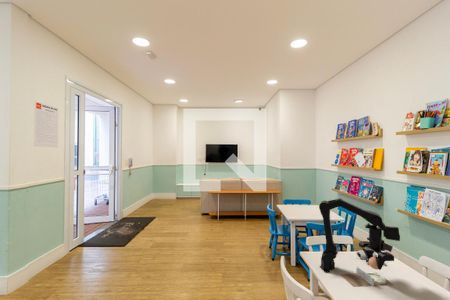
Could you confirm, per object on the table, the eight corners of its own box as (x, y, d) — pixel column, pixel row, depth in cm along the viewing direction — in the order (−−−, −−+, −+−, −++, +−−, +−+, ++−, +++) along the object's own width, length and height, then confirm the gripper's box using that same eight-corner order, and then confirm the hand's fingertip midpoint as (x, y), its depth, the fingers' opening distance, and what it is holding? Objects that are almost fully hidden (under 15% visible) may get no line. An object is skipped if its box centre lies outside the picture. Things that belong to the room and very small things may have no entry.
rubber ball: (374, 271, 118) (374, 260, 118) (365, 266, 124) (365, 255, 124) (384, 271, 118) (384, 259, 118) (376, 265, 124) (376, 254, 124)
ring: (373, 284, 116) (373, 282, 116) (361, 274, 125) (361, 272, 125) (390, 283, 117) (390, 281, 117) (377, 273, 126) (377, 272, 126)
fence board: (353, 288, 113) (353, 279, 114) (339, 275, 125) (339, 267, 125) (394, 286, 115) (394, 278, 115) (376, 274, 127) (376, 266, 127)
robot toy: (387, 269, 135) (372, 256, 150) (387, 261, 135) (372, 249, 150) (366, 268, 136) (353, 255, 151) (366, 261, 136) (353, 248, 151)
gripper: (404, 243, 113) (404, 275, 112) (376, 231, 131) (376, 258, 131) (383, 244, 112) (383, 276, 111) (358, 231, 130) (358, 258, 130)
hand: (375, 266), depth 121 cm, fingers closed on rubber ball, 6 cm apart
